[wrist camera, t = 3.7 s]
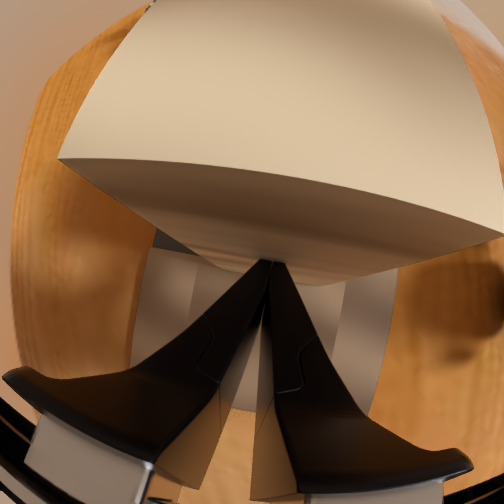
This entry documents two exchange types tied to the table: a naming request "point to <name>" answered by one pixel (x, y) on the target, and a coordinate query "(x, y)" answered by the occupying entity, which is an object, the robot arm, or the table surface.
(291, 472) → the robot arm
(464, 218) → the maple block
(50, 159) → the table surface
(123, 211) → the table surface
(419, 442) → the table surface
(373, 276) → the trap board
